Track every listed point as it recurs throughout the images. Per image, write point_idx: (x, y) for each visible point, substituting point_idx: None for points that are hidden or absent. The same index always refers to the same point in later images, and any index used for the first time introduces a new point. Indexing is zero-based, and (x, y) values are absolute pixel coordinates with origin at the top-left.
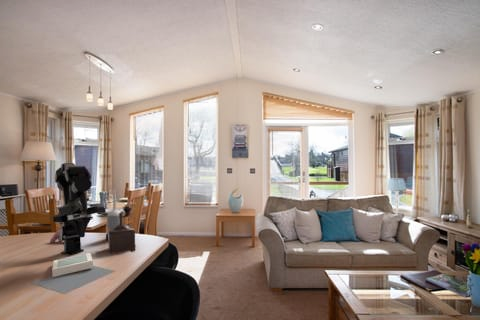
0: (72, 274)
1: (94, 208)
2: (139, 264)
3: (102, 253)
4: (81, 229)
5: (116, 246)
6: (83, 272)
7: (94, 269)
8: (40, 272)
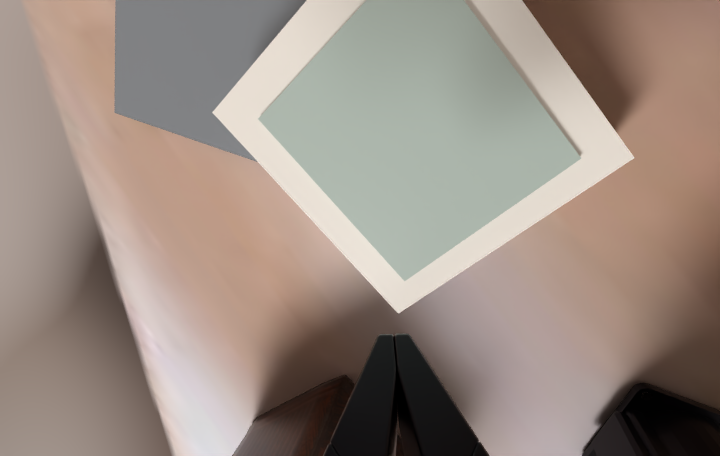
0: None
1: None
2: (106, 239)
3: None
4: (345, 413)
5: (300, 422)
6: None
7: None
8: (661, 32)
